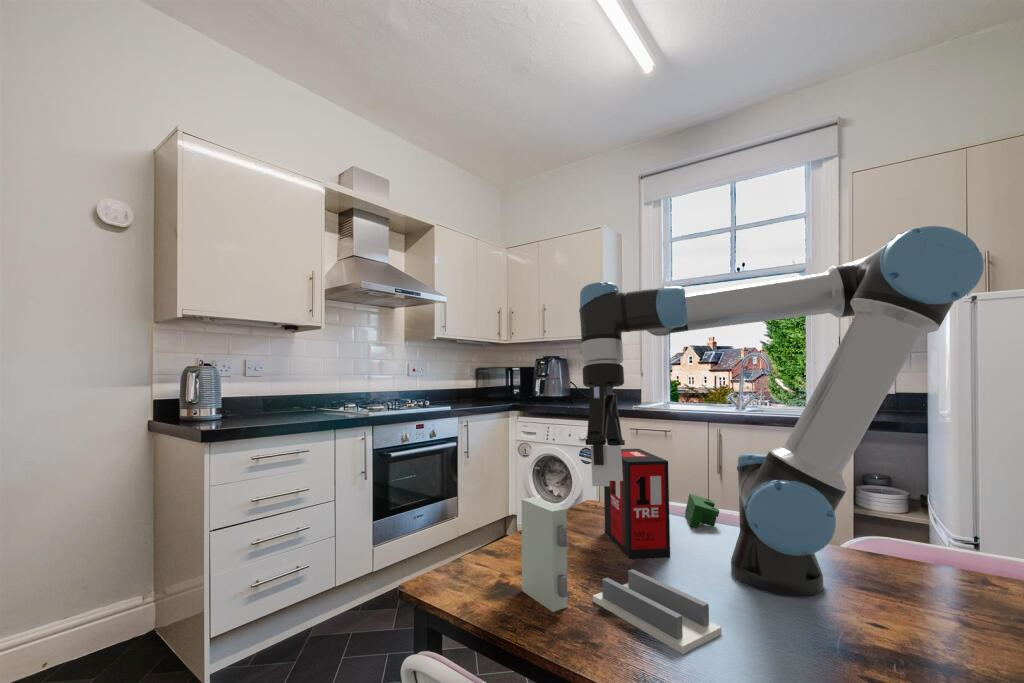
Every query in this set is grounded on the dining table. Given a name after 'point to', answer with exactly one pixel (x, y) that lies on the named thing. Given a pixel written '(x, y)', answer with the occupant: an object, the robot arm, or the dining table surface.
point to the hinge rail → (659, 611)
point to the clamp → (700, 511)
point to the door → (544, 552)
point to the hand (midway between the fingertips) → (608, 483)
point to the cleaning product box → (639, 506)
